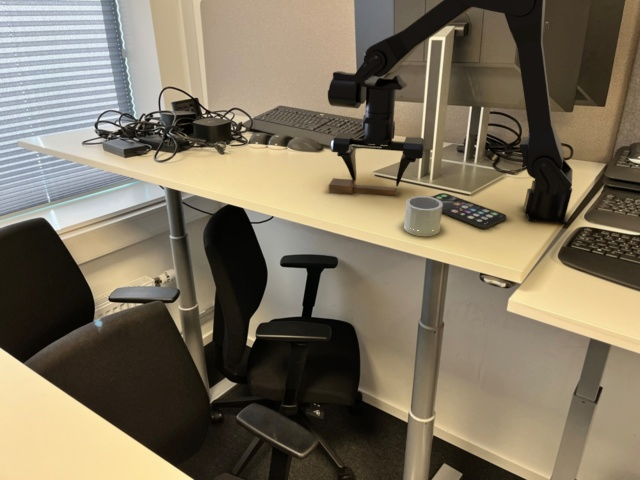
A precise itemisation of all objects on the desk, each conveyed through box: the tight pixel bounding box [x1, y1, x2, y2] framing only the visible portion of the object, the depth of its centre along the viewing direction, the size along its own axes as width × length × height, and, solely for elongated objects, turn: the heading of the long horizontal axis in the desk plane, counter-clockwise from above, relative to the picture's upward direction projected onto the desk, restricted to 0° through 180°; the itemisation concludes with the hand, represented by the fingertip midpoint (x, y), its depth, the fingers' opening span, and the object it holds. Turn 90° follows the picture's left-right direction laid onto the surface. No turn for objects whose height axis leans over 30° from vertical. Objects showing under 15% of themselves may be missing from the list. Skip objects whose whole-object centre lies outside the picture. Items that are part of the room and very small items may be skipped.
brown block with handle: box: [328, 177, 398, 197], centre depth 99 cm, size 14×4×2 cm, turn 76°
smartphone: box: [431, 192, 507, 229], centre depth 89 cm, size 7×1×15 cm
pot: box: [403, 195, 443, 237], centre depth 82 cm, size 6×6×5 cm
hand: (375, 184), depth 100 cm, fingers open, 9 cm apart
